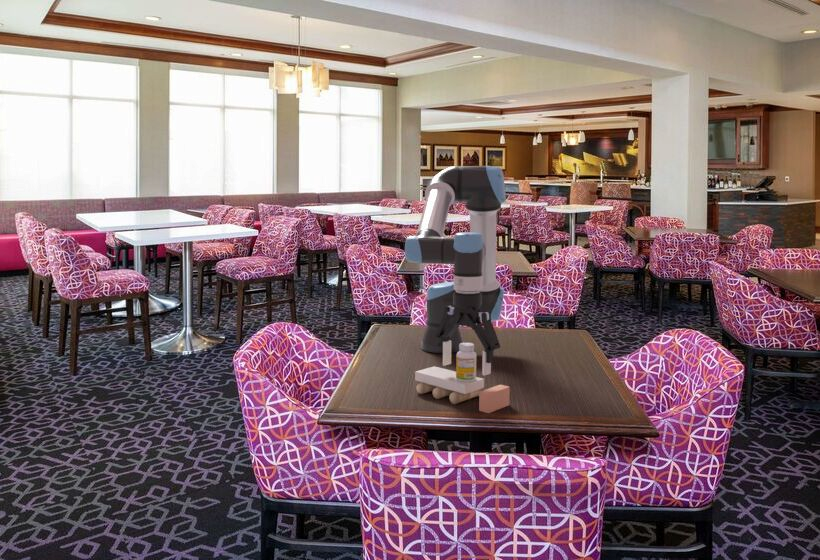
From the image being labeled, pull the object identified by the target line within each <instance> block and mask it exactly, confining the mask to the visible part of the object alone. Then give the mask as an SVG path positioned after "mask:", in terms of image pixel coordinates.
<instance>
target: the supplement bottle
mask: <svg viewBox="0 0 820 560" xmlns="http://www.w3.org/2000/svg"><path fill="white" fill-rule="evenodd" d="M459 350H460V351H459V352H456V357H455V358H456V360H455V361H456V366H455V367H456V369H455V372H456V379H457V380H458V381H462V382H472V381H475V380H476V377H477V362H478V361H477V353H476V352H475V351H474V350H475V344H474V343H472V342H464V343H460V344H459Z"/></svg>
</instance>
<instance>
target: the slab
mask: <svg viewBox="0 0 820 560" xmlns="http://www.w3.org/2000/svg"><path fill="white" fill-rule="evenodd" d="M414 374H415V375H414V380H415V381H417V382H420V383H422V382H423V383H427V384H430V385H434V386H437V387H441V388H445V389H448V390H452V391H455V392H459V393H463V394H467V393H470V392H473V391H476V390H479V389H481V390H482V389H484V387H485V378H482V377H478V376H476V380H475V381H472V382H462V381H458V380H457V379H456V370H455V371H454V370H452V369H447V368H443V367H438V366H431V367H426V368H423V369H420V370H416V371H414Z"/></svg>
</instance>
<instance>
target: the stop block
mask: <svg viewBox="0 0 820 560" xmlns="http://www.w3.org/2000/svg"><path fill="white" fill-rule="evenodd" d="M510 392H511V389H510V386H508V385H503V384H498V385H494V386H492V387H489V388H486V389H484V390H481V391H480V392H479V396H478V397H479V398H478V404H479V405H478V411H479V412H483V413H486V414H491V413H493V412H495V411H497V410H501V409H503V408H505V407H508V406H510V394H511V393H510Z"/></svg>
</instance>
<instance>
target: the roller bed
mask: <svg viewBox="0 0 820 560" xmlns="http://www.w3.org/2000/svg"><path fill="white" fill-rule="evenodd" d="M416 391H417V393H418V394H420V395H424V394H427V393H429V392H432V396H433V398H435V399H436V400H440V399H442V398H445V397H448V396H449V398H448V399H449V401H450V403H451V404H452V405H457V404H459V403H462V402H464V401H467V400H471V399H473V398H476V397H479V392H480V391H482V389H479V390H476V391H473V392H470V393H467V394H463V393H459V392H455V391H452V390H448V389H445V388H441V387H437V386H434V385H430V384H427V383H423V382H420V383H418V384H417V385H416Z"/></svg>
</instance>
